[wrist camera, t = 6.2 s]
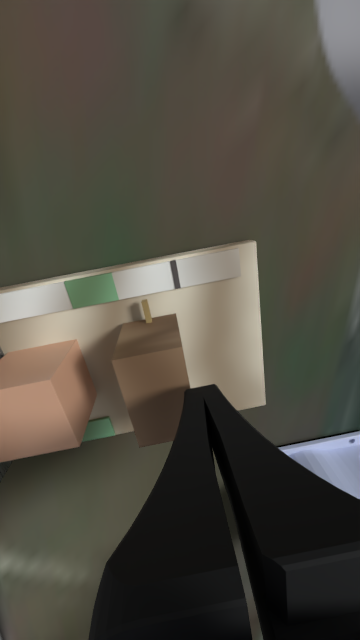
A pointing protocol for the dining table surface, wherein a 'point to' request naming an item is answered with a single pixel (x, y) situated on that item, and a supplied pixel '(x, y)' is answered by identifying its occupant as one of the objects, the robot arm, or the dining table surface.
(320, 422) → the dining table surface
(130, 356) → the brown box with peg
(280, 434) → the dining table surface
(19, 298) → the gauge board
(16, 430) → the peach matte cube
